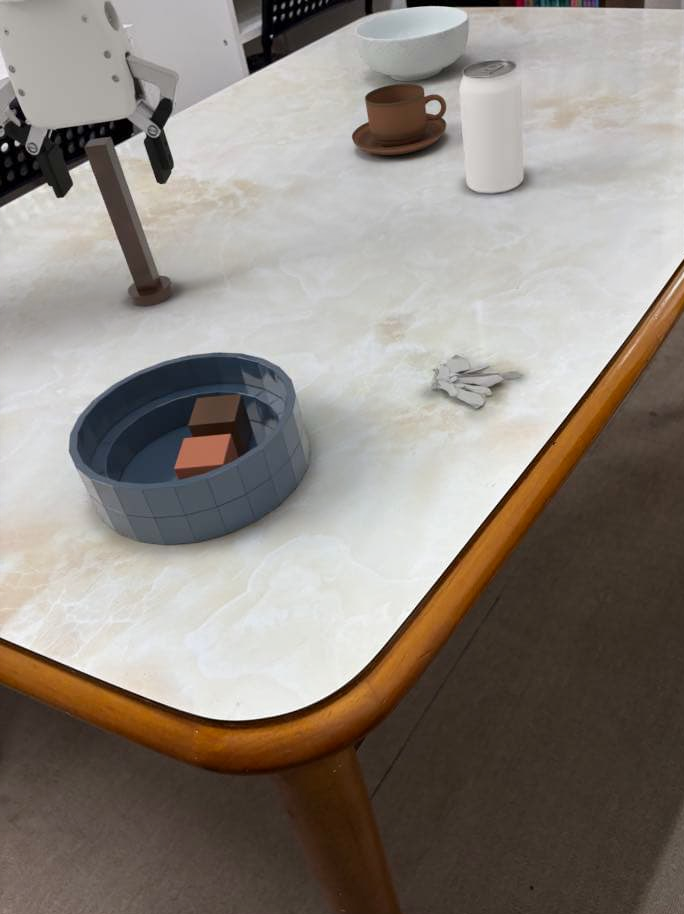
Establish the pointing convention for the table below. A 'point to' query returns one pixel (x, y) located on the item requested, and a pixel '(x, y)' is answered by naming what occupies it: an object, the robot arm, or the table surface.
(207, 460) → the block terracotta
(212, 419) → the block walnut
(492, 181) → the can
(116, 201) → the stirrer
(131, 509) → the bowl
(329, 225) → the table surface
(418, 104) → the cup and saucer
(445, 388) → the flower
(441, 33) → the cereal bowl
